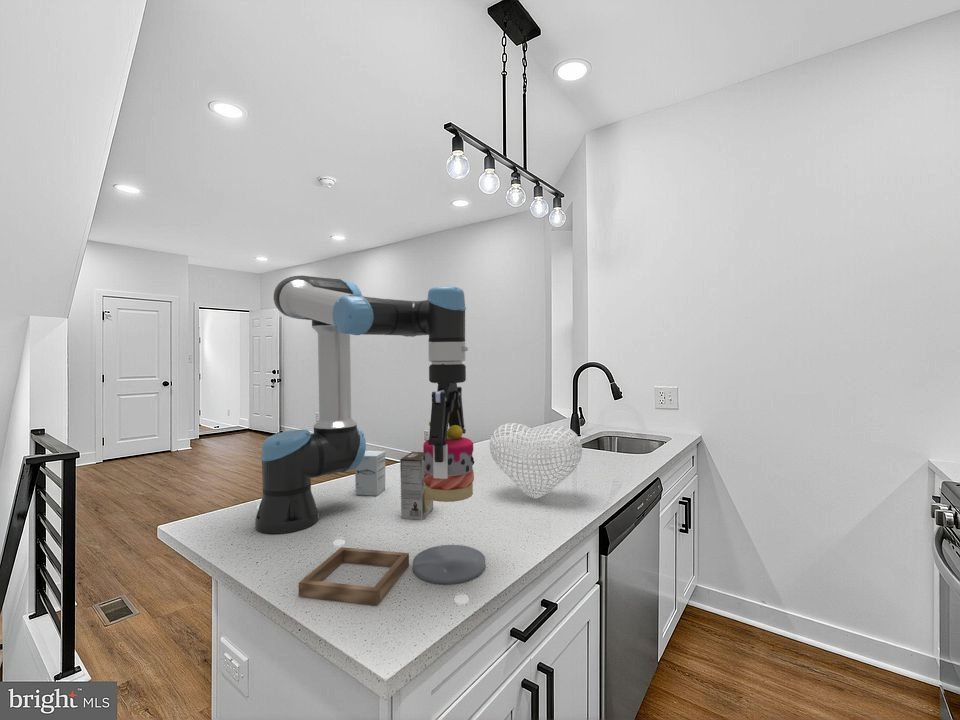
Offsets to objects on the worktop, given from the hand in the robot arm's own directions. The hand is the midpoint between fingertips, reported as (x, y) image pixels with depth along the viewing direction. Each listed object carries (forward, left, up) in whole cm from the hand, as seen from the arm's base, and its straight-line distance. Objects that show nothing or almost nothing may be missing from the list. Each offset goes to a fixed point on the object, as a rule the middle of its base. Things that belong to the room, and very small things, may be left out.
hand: (448, 470), depth 95 cm
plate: (0, 0, -20) cm, 20 cm away
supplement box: (-38, +43, -20) cm, 61 cm away
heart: (+13, +47, -20) cm, 53 cm away
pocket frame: (-16, -9, -20) cm, 27 cm away
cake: (0, 0, -5) cm, 5 cm away
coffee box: (-17, +28, -20) cm, 38 cm away
